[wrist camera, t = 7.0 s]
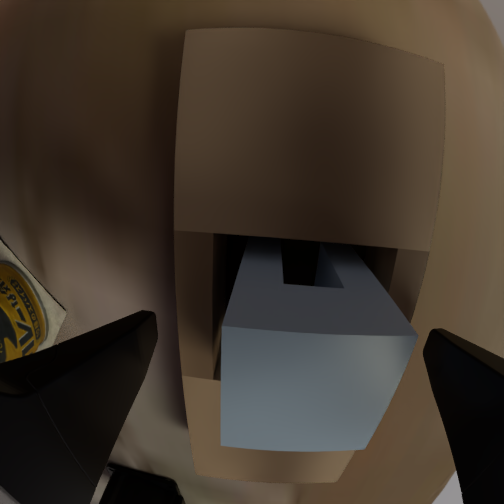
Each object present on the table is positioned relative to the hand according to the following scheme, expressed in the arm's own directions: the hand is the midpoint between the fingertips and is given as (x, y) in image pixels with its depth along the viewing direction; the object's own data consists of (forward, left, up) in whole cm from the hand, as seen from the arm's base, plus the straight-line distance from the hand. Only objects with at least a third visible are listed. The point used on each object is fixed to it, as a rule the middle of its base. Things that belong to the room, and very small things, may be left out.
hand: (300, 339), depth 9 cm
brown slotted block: (0, -1, -4) cm, 4 cm away
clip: (0, 0, -4) cm, 4 cm away
